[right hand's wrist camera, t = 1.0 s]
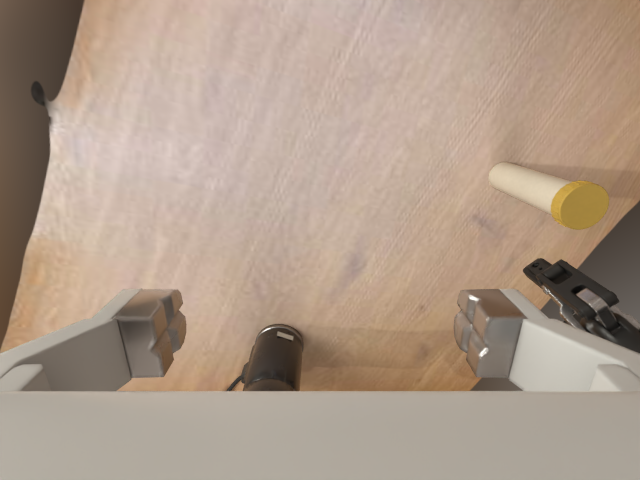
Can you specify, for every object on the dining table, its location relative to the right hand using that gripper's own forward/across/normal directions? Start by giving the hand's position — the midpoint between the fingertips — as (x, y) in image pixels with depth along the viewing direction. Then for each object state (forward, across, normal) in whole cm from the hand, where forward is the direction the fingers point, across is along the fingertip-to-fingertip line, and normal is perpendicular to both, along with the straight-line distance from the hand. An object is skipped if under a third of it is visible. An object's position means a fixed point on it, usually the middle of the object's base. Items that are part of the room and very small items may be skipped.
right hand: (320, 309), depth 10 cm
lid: (+29, -30, +5) cm, 42 cm away
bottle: (+48, -30, +5) cm, 57 cm away
